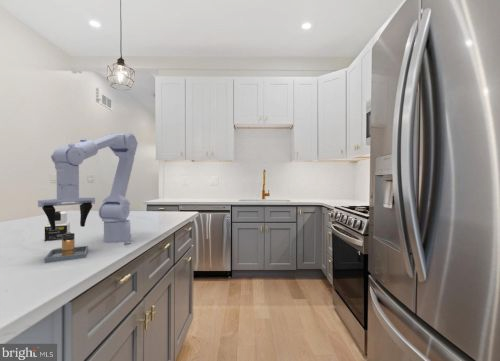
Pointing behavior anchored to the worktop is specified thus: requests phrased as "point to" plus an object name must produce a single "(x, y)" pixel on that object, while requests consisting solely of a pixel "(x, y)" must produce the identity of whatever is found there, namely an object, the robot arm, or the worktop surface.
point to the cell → (68, 244)
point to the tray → (67, 257)
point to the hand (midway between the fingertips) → (68, 228)
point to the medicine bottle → (57, 227)
